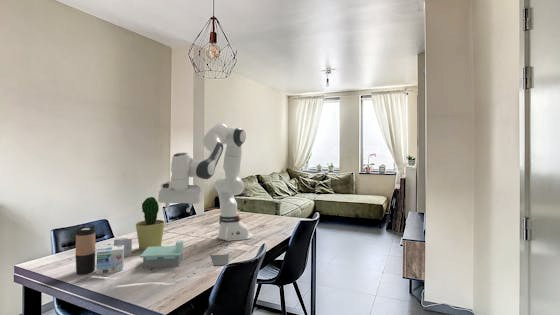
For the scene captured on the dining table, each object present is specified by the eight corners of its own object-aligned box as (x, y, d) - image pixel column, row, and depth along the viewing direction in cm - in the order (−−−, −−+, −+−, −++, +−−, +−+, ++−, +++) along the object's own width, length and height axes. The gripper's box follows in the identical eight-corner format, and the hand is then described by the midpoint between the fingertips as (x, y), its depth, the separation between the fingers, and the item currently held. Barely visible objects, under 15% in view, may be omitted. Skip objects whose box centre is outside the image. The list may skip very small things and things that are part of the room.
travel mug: (80, 276, 133) (80, 231, 133) (72, 272, 137) (72, 228, 137) (98, 270, 139) (98, 227, 139) (90, 267, 143) (90, 225, 143)
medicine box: (132, 255, 161) (132, 238, 161) (125, 257, 157) (125, 241, 157) (120, 253, 164) (120, 237, 164) (113, 256, 159) (113, 239, 159)
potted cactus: (158, 242, 184) (158, 193, 183) (169, 248, 173) (169, 196, 172) (131, 247, 173) (131, 195, 173) (141, 254, 162) (141, 198, 162)
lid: (184, 248, 157) (184, 237, 156) (180, 258, 143) (180, 246, 143) (148, 250, 154) (148, 239, 154) (139, 259, 140) (140, 247, 140)
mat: (228, 255, 163) (228, 254, 163) (228, 265, 148) (228, 264, 148) (192, 256, 160) (192, 255, 160) (188, 267, 145) (188, 266, 145)
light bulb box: (95, 276, 134) (96, 251, 133) (98, 270, 140) (98, 247, 140) (123, 272, 138) (123, 248, 138) (124, 267, 144) (124, 244, 144)
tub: (182, 259, 155) (182, 248, 155) (178, 267, 144) (178, 255, 144) (149, 261, 152) (149, 249, 152) (143, 269, 142) (143, 256, 141)
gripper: (201, 184, 157) (200, 211, 157) (161, 183, 156) (160, 210, 156) (199, 185, 150) (198, 213, 150) (157, 184, 149) (156, 212, 149)
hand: (178, 211), depth 153 cm, fingers open, 8 cm apart
